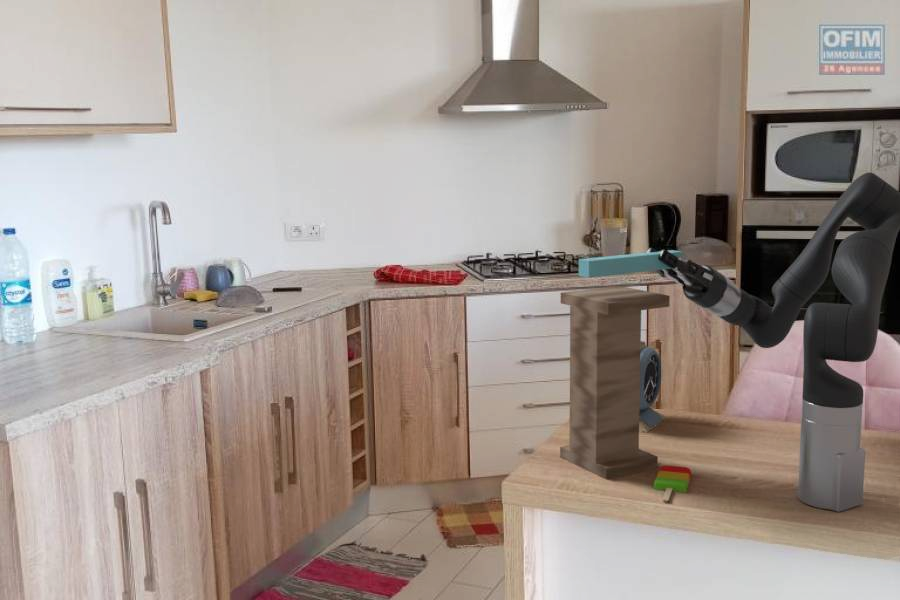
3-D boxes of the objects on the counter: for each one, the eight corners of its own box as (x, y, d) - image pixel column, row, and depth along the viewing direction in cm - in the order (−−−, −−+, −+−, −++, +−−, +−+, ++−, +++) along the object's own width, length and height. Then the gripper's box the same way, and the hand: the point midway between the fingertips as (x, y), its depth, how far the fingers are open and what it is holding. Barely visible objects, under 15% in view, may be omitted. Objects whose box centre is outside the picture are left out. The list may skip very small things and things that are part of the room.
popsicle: (691, 476, 169) (691, 466, 169) (682, 507, 155) (682, 496, 155) (660, 473, 171) (661, 463, 171) (648, 503, 157) (648, 493, 157)
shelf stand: (665, 464, 174) (669, 295, 169) (606, 479, 167) (608, 303, 162) (617, 444, 186) (619, 285, 181) (560, 456, 179) (560, 292, 174)
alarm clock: (645, 434, 192) (646, 350, 189) (600, 427, 197) (601, 345, 194) (667, 416, 204) (669, 337, 201) (625, 410, 209) (626, 333, 206)
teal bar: (682, 267, 177) (682, 251, 176) (588, 277, 166) (589, 260, 166) (671, 265, 179) (671, 250, 179) (578, 275, 169) (578, 259, 168)
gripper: (694, 269, 190) (637, 232, 181) (746, 278, 178) (689, 238, 169) (679, 303, 189) (622, 267, 180) (731, 313, 177) (672, 275, 168)
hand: (654, 253), depth 175 cm, fingers closed on teal bar, 3 cm apart
